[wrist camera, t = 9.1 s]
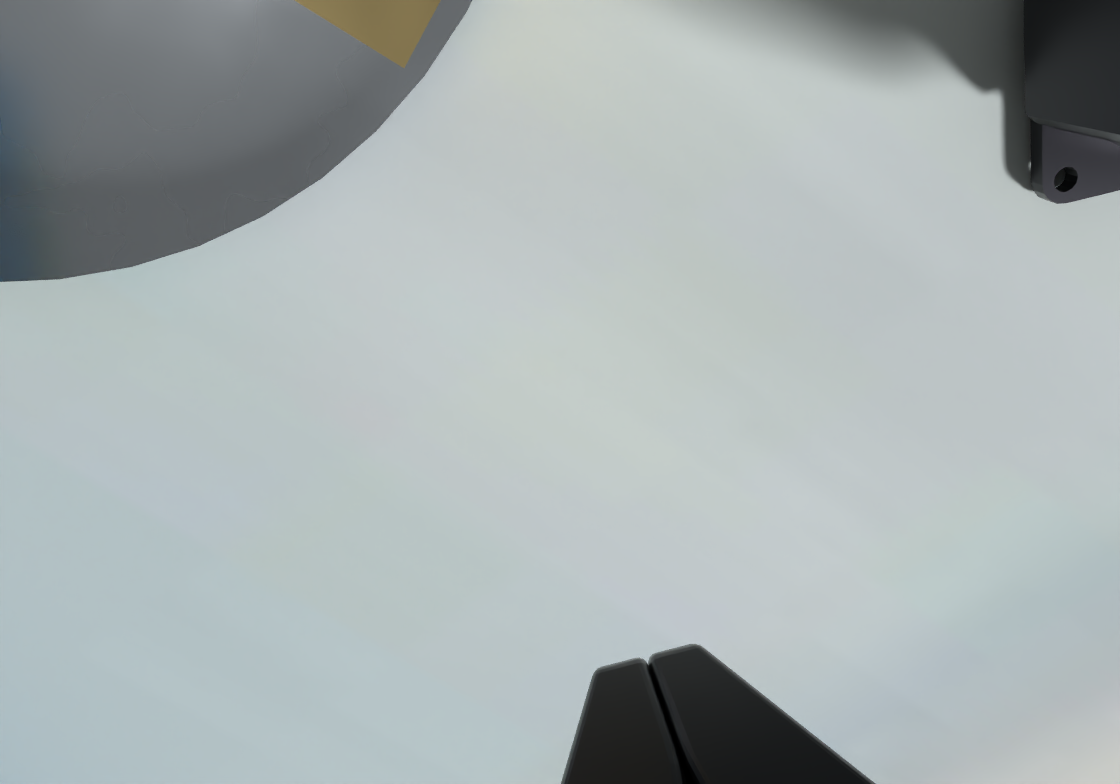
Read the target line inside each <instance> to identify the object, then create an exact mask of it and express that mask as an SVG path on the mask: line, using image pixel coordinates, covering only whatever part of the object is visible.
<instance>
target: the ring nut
mask: <svg viewBox="0 0 1120 784" xmlns="http://www.w3.org/2000/svg"><path fill="white" fill-rule="evenodd" d="M295 1H296V2H298V3H299V4H301V5H303V6H304V7H306V8H307V9H309V10H311V11H312V12H314V13H316V14H317V15H319V16H320V17H322V18H324V19H325V20H327V21H328V22H330V23H332V24H333V25H335V26H336V27H338V28H340V29H341V30H343V31H345V32H346V33H348V34H349V35H351V36H353V37H354V38H356V39H357V40H359V41H361V42H362V43H364V44H365V45H367V46H369V47H370V48H372V49H374V50H375V51H377V52H378V53H380V54H382V55H383V56H385V57H386V58H388V59H390V60H391V61H393V62H395V63H396V64H398V65H399V66H401V67H403V68H405V66H406V64H407V62H408V60H409V58H410V57H411V55H412V53H413V51H414V49H415V47H416V45H417V44H418V42H419V40H420V38H421V36H422V34H423V32H424V31H425V29H426V27H427V25H428V23H429V21H430V19H431V18H432V16H433V14H434V12H435V10H436V8H437V6H438V5H439V3H440V1H441V0H295Z"/></svg>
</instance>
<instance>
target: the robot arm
mask: <svg viewBox="0 0 1120 784" xmlns="http://www.w3.org/2000/svg"><path fill="white" fill-rule="evenodd" d="M1024 63H1025V113H1026V115H1027V116H1029V117H1030V118H1031V183H1032V187H1033V191H1034V192H1035V193H1036V194H1037V196H1038V197H1040V198H1043V199H1045V200H1048V201H1051V202H1054V203H1057V204H1059V203H1069V202H1073V201H1077V200H1081V199H1085V198H1089V197H1093V196H1097V195H1102V194H1106V193H1110V192H1114V191H1118V190H1120V0H1024ZM1063 168H1065V171H1066V176H1065V180H1064V181H1063V182H1062V184H1061V185H1060V186H1058V187H1056V188H1055V185H1054V179H1055V176H1056V174H1057V173H1058V172H1059V171H1060V170H1061V169H1063ZM648 665H649V666H648ZM561 784H875V783H874V782H873V781H871V780H870V779H869V778H868V777H866V776H865V775H864V774H863V773H861V772H860V771H859V770H857V769H856V768H855V767H854V766H852V765H851V764H850V763H849V762H847V761H846V760H845V759H844V758H842V757H841V756H840V755H838V754H837V753H836V752H835V751H833V750H832V749H831V748H830V747H828V746H827V745H826V744H825V743H823V742H822V741H821V740H820V739H818V738H817V737H816V736H814V735H813V734H812V733H811V732H809V731H808V730H807V729H806V728H804V727H803V726H802V725H801V724H799V723H798V722H797V721H795V720H794V719H793V718H792V717H790V716H789V715H788V714H787V713H785V712H784V711H783V710H782V709H780V708H779V707H778V706H776V705H775V704H774V703H773V702H771V701H770V700H769V699H768V698H766V697H765V696H764V695H763V694H761V693H760V692H759V691H758V690H756V689H755V688H754V687H752V686H751V685H750V684H749V683H747V682H746V681H745V680H744V679H742V678H741V677H740V676H739V675H737V674H736V673H735V672H733V671H732V670H731V669H730V668H728V667H727V666H726V665H725V664H723V663H722V662H721V661H720V660H718V659H717V658H716V657H715V656H713V655H712V654H711V653H709V652H708V651H707V650H706V649H704V648H703V647H702V646H700V645H697V644H689V645H685V646H681V647H677V648H673V649H669V650H665V651H662V652H658V653H655V654H652V656H651V657H650V658H649V661H648V664H647V662H646V661H645V660H644V659H641V658H634V659H630V660H626V661H622V662H618V663H615V664H611V665H607V666H603V667H600V668H598V669H597V670H596V671H595V672H594V674H593V676H592V679H591V682H590V686H589V689H588V693H587V696H586V699H585V703H584V706H583V710H582V713H581V717H580V720H579V723H578V727H577V730H576V734H575V737H574V741H573V744H572V747H571V751H570V754H569V758H568V761H567V765H566V768H565V771H564V775H563V778H562V782H561Z"/></svg>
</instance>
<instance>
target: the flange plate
mask: <svg viewBox="0 0 1120 784" xmlns="http://www.w3.org/2000/svg"><path fill="white" fill-rule="evenodd" d="M471 1H472V0H441V1H440V3H439V5H438V6H437V8H436V10H435V12H434V14H433V16H432V18H431V19H430V21H429V23H428V25H427V27H426V29H425V31H424V32H423V34H422V36H421V38H420V40H419V42H418V44H417V45H416V47H415V49H414V51H413V53H412V55H411V57H410V58H409V60H408V62H407V64H406V66H405V68H403V67H401V66H399V65H398V64H396V63H395V62H393V61H391V60H390V59H388V58H386V57H385V56H383V55H382V54H380V53H378V52H377V51H375V50H374V49H372V48H370V47H369V46H367V45H365V44H364V43H362V42H361V41H359V40H357V39H356V38H354V37H353V36H351V35H349V34H348V33H346V32H345V31H343V30H341V29H340V28H338V27H336V26H335V25H333V24H332V23H330V22H328V21H327V20H325V19H324V18H322V17H320V16H319V15H317V14H316V13H314V12H312V11H311V10H309V9H307V8H306V7H304V6H303V5H301V4H299V3H298V2H296V1H295V0H0V282H7V281H29V280H51V279H63V278H69V277H75V276H81V275H86V274H92V273H98V272H104V271H110V270H116V269H122V268H127V267H132V266H136V265H139V264H142V263H145V262H149V261H152V260H155V259H158V258H161V257H165V256H168V255H171V254H174V253H178V252H181V251H184V250H187V249H191V248H194V247H197V246H200V245H202V244H204V243H206V242H209V241H211V240H213V239H215V238H217V237H219V236H221V235H224V234H226V233H228V232H230V231H232V230H234V229H236V228H239V227H241V226H243V225H245V224H247V223H249V222H251V221H254V220H256V219H258V218H260V217H262V216H264V215H266V214H267V213H269V212H270V211H272V210H273V209H275V208H276V207H278V206H279V205H281V204H283V203H284V202H286V201H287V200H289V199H290V198H292V197H293V196H295V195H296V194H298V193H300V192H301V191H303V190H304V189H306V188H307V187H309V186H310V185H312V184H313V183H315V182H317V181H318V180H320V179H321V178H323V177H324V176H325V175H326V174H327V173H328V172H329V171H331V170H332V169H333V168H334V167H335V166H336V165H338V164H339V163H340V162H341V161H342V160H343V159H344V158H346V157H347V156H348V155H349V154H350V153H351V152H353V151H354V150H355V149H356V148H357V147H358V146H359V145H361V144H362V143H363V142H364V141H365V140H366V139H368V138H369V137H370V136H371V135H372V134H373V133H374V132H376V131H377V129H378V128H379V127H380V126H381V125H382V124H383V123H384V121H385V120H386V119H387V118H388V117H389V116H390V115H391V113H392V112H393V111H394V110H395V109H396V108H397V107H398V105H399V104H400V103H401V102H402V101H403V100H404V99H405V97H406V96H407V95H408V94H409V93H410V92H411V90H412V89H413V88H414V87H415V86H416V85H417V84H418V82H419V81H420V80H421V79H422V78H423V77H424V76H425V74H426V72H427V71H428V69H429V68H430V66H431V65H432V63H433V62H434V60H435V59H436V57H437V56H438V54H439V53H440V51H441V50H442V48H443V47H444V45H445V44H446V42H447V41H448V39H449V38H450V36H451V35H452V33H453V31H454V30H455V28H456V27H457V25H458V24H459V22H460V21H461V19H462V18H463V16H464V15H465V13H466V12H467V10H468V8H469V5H470V3H471Z"/></svg>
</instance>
